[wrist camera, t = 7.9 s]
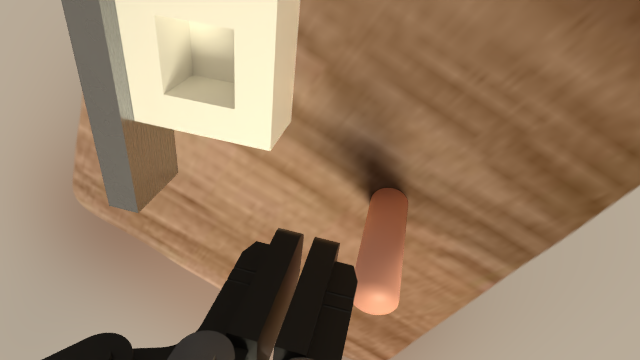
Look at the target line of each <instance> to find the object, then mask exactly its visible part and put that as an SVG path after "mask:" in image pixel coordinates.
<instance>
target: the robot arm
mask: <svg viewBox="0 0 640 360" xmlns="http://www.w3.org/2000/svg"><path fill="white" fill-rule="evenodd" d="M303 238H304V235H303V234H301V233H297V232H293V231H289V230H285V229H281V228H278V230H277V231H276V233H275V235H274V237H273V239H272V241H271V243H270V245H269V244H265V243H261V242H257V241H256V242H255V243H254V244H252V245H251V246H250V247H248V248H247V249H246V250H244V251H243V252H242V254H241V256H240V257H239V259H238V261H237V263H236V264H235V267H234V269H233V270H232V272H231V273H230V275H229V277H228V280H227V281H226V282H225V284H224V286H223V287H222V289H221V291H220V293H219V295H218V296H217V298H216V300H215V302H214V303H213V305H212V307H211V309H210V310H209V312H208V314H207V316H206V318H205V319H204V321H203V323H202V325H201V326H200V328H199V329H198V330H197V331H196V332H195V333H192V334H190V335H188V336H186V337H185V338H184V339H182V340H181V341H180V342H179V343H178V344H176V345H173V346H169V347H162V348H137V349H132V346H131V344H130V342H129V341H128V340H127V339H126V338H125V337H123V336H122V335H119V334H116V333H101V334H97V335H93V336H91V337H88V338H86V339H84V340H82V341H80V342H78V343H76V344H74V345H72V346H69V347H67V348H65V349H63V350H61V351H59V352H57V353H55V354H53V355H51V356H49V357H47V358H45V359H42V360H269V358H270V356H271V353H272V351H273V348H274V355H273V360H341V359H342V355H343V350H344V345H345V340H346V336H347V331H348V326H349V321H350V317H351V312H352V307H353V302H354V298H355V293H356V288H357V283H358V280H357V277H356V273H355V270H354V266H352V265H348V264H344V263H340V262H337V257H338V251H339V246H340V243H337V242H333V241H329V240H325V239H321V238H317V237H315V238H314V240H313V243H312V246H311V248H310V251H309V254H308V256H307V259H306V262H305V265H304V267H303V270H302V273H301V275H300V278H299V281H298V277H299V272H300V264H301V256H302V247H303ZM297 281H298V283H297ZM296 285H297V286H296ZM295 288H296V289H295ZM294 291H295V292H294ZM291 299H292V300H291ZM288 307H289V308H288ZM281 326H282V327H281ZM278 334H279V335H278ZM275 342H276V343H275Z"/></svg>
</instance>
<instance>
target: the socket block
mask: <svg viewBox="0 0 640 360" xmlns="http://www.w3.org/2000/svg"><path fill="white" fill-rule="evenodd" d="M115 4H116V11H117V17H118V23H119V29H120V35H121V41H122V47H123V53H124V59H125V65H126V71H127V77H128V84H129V90H130V96H131V102H132V108H133V114H134V120H135V121H137V122H142V123H146V124H151V125H155V126H160V127H164V128H169V129H173V130H178V131H182V132H187V133H191V134H196V135H200V136H205V137H209V138H214V139H218V140H223V141H227V142H232V143H236V144H241V145H245V146H250V147H254V148H259V149H263V150H268V151H271V149H272V148H273V146H274V145H275V144H276V142H277V141H278V139H279V138H280V136H281V135H282V134H283V132H284V131H285V129H286V128H287V126H288V125H289V124H290V122H291V114H292V101H293V88H294V75H295V62H296V49H297V36H298V23H299V10H300V0H115Z"/></svg>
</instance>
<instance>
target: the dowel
mask: <svg viewBox="0 0 640 360" xmlns="http://www.w3.org/2000/svg"><path fill="white" fill-rule="evenodd" d="M407 211H408V200H407V198H406V196H405V195H404V194H403V193H402V192H401V191H399V190H397V189H394V188H382V189H379V190H377V191H376V192H375V193H374V194H373V195H372V197H371V201H370V205H369V210H368V214H367V219H366V223H365V228H364V232H363V236H362V241H361V245H360V250H359V254H358V259H357V263H356V267H355V273H356V277H357V280H358V283H357V288H356V293H355V298H354V302H353V304H354V305H355V306H356V307H357V308H358V309H360V310H362V311H364V312H366V313H369V314H374V315H384V314H388V313H391V312H392V311H394V310H395V309H396V308H397V306H398V304H399V295H400V285H401V274H402V264H403V253H404V242H405V232H406V221H407Z"/></svg>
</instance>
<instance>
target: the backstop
mask: <svg viewBox="0 0 640 360" xmlns="http://www.w3.org/2000/svg"><path fill="white" fill-rule="evenodd" d="M61 1H62V5H63V9H64V14H65V18H66V22H67V27H68V31H69V35H70V39H71V43H72V48H73V52H74V56H75V61H76V65H77V69H78V74H79V78H80V82H81V86H82V91H83V95H84V99H85V104H86V108H87V112H88V116H89V121H90V125H91V129H92V133H93V138H94V142H95V146H96V151H97V155H98V159H99V163H100V168H101V172H102V176H103V181H104V185H105V189H106V193H107V198H108V202H109V206H113V207H117V208H121V209H124V210H128V211H132V212H136V213H139V212H140V211H141V210H142V209H143V208H144V207H145V206H146V205H147V204H148V203H149V202H150V201H151V200H152V199H153V198H154V197H155V196H156V195H157V194H158V193H159V192H160V191H161V190H162V189H163V188H164V187H165V186H166V185H167V184H168V183H169V182H170V181H171V180H172V179H173V178H174V177H175V175H176V174H177V173H178V168H177V158H176V149H175V139H174V130H173V129H169V128H164V127H160V126H155V125H151V124H146V123H142V122H137V121H135V120H134V114H133V108H132V102H131V96H130V90H129V84H128V77H127V71H126V65H125V59H124V53H123V47H122V41H121V35H120V29H119V23H118V17H117V11H116V4H115V0H61Z"/></svg>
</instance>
